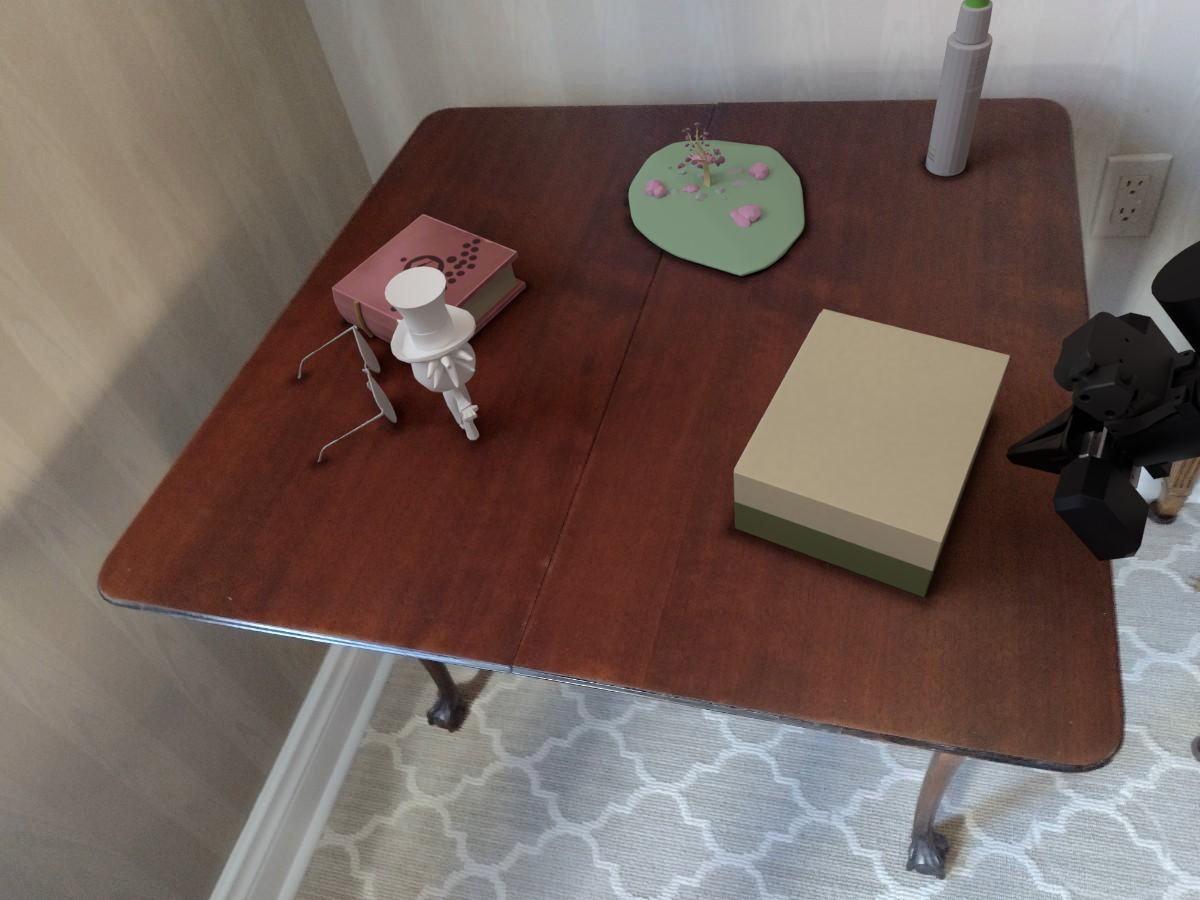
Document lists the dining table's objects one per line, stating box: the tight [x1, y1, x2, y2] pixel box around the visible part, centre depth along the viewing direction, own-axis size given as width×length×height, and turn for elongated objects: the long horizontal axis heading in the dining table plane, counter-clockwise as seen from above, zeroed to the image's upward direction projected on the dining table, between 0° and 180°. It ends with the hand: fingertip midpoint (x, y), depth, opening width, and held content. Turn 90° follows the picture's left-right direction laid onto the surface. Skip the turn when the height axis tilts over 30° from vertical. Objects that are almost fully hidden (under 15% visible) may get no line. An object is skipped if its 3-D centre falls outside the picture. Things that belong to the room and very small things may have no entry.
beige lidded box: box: [733, 308, 1011, 598], centre depth 74 cm, size 16×20×8 cm
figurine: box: [385, 267, 480, 441], centre depth 80 cm, size 10×8×18 cm
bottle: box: [925, 0, 994, 177], centre depth 95 cm, size 4×4×20 cm
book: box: [331, 213, 527, 344], centre depth 97 cm, size 14×15×5 cm
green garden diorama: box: [628, 121, 805, 277], centre depth 100 cm, size 25×21×9 cm
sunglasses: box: [297, 325, 398, 463], centre depth 90 cm, size 14×8×5 cm, turn 22°
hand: (1009, 456), depth 68 cm, fingers closed
